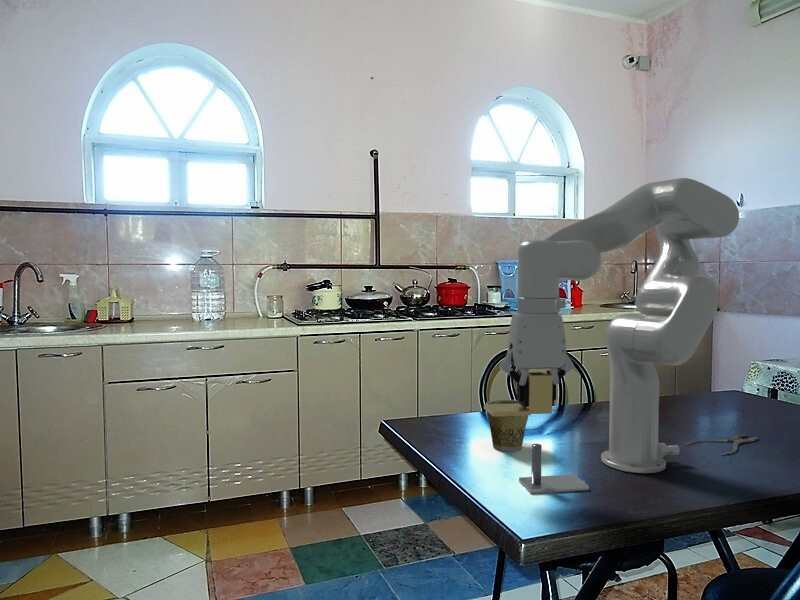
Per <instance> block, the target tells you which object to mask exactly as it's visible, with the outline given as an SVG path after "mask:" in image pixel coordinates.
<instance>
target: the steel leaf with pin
mask: <svg viewBox="0 0 800 600" xmlns="http://www.w3.org/2000/svg"><path fill="white" fill-rule="evenodd" d="M542 450H543V448H542V444H540V443H532V444H531V473H530V474H531V475H530V476H525V477H524V476H523V477H522V476H520V477H518V482H519V483H520V484H521V486H522V487H525V488H526V489H525V488H524V489H525V490H526V491H527V492H528V493H529V494H531V495H532V494H533V495H535V494H536V495H537V494H550V493H551V494H552V493H562V492H563V493H565V492H580V491H589V488H590V487H589V485H588V484H587V483H586V482H585V481H583V480H582V479H581V478H579V477H578V476H577V475H576V474H574V473H573V474H572V473H571V474H558V475H556V474H555V475H542V455H543V454H542Z"/></svg>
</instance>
